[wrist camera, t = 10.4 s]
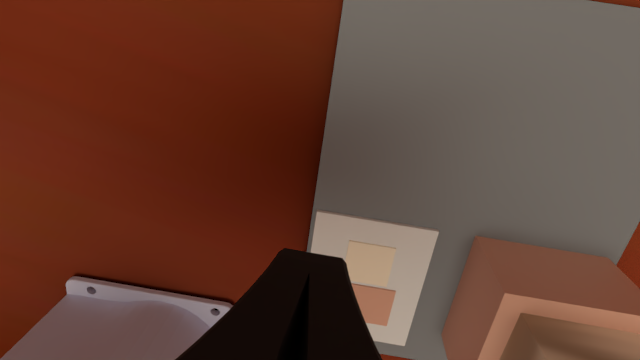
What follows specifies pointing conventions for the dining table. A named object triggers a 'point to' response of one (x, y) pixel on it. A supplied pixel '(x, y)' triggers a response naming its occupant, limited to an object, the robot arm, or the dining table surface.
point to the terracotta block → (533, 295)
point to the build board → (484, 131)
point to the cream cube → (568, 341)
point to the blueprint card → (379, 267)
